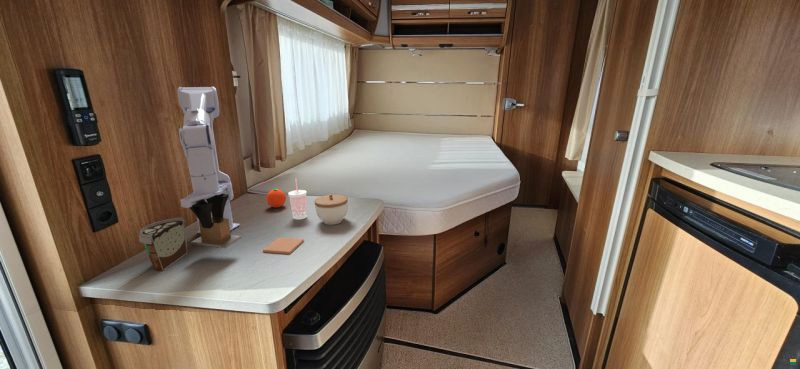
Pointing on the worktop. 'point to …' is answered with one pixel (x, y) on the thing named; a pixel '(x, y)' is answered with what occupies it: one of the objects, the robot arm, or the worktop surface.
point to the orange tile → (283, 245)
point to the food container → (164, 242)
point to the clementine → (276, 198)
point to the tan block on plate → (216, 234)
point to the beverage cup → (298, 203)
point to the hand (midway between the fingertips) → (213, 224)
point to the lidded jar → (331, 208)
